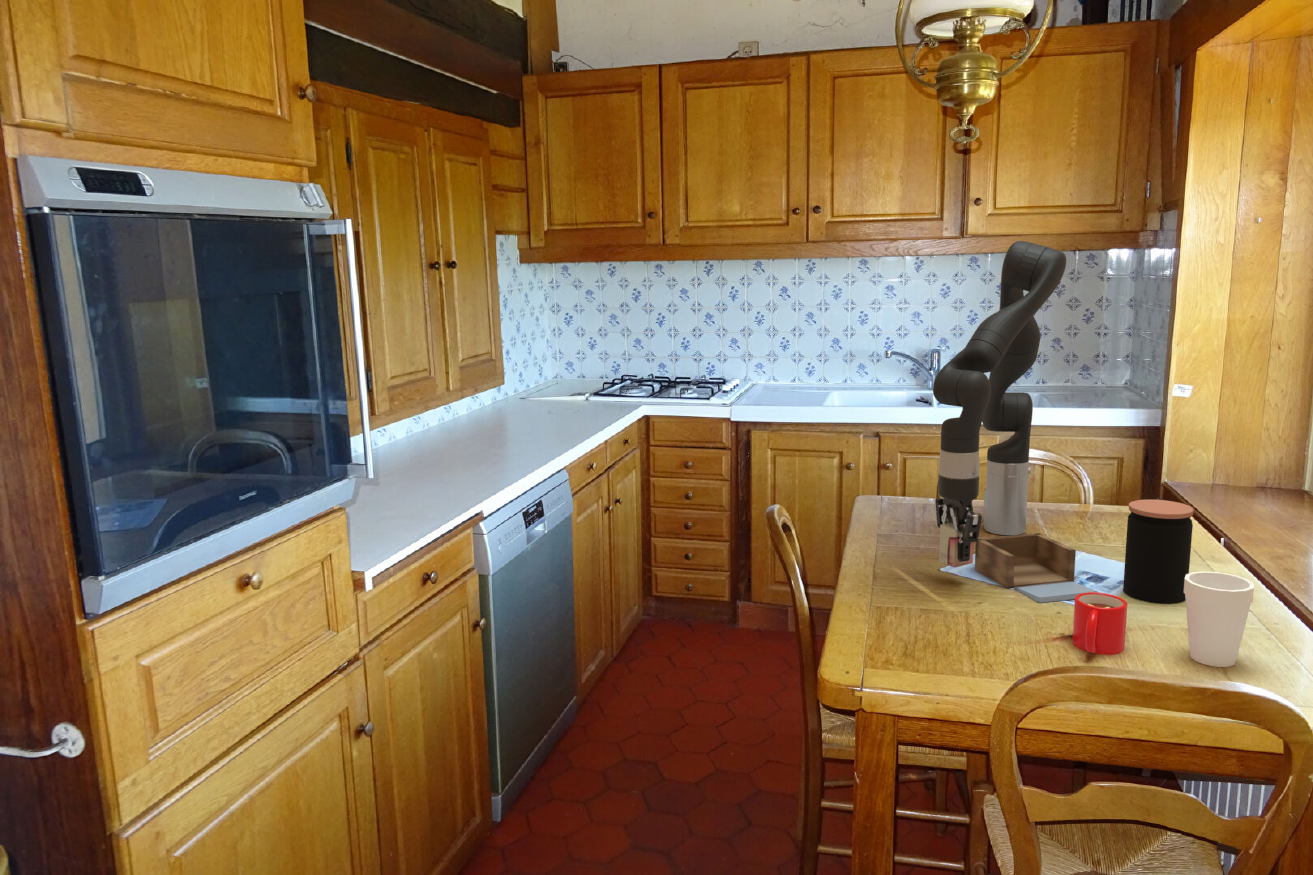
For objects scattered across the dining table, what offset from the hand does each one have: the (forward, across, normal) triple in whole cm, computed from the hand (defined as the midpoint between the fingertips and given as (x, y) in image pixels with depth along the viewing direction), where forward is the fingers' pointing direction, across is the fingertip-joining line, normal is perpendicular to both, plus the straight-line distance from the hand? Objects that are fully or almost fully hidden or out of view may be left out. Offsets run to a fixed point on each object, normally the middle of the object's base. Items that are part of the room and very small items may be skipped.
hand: (956, 555), depth 180 cm
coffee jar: (+7, -16, -32) cm, 36 cm away
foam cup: (+6, -41, -22) cm, 47 cm away
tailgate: (+6, -6, -15) cm, 17 cm away
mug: (+6, -33, -7) cm, 34 cm away
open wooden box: (+7, 0, -15) cm, 17 cm away
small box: (+2, 0, 0) cm, 2 cm away
